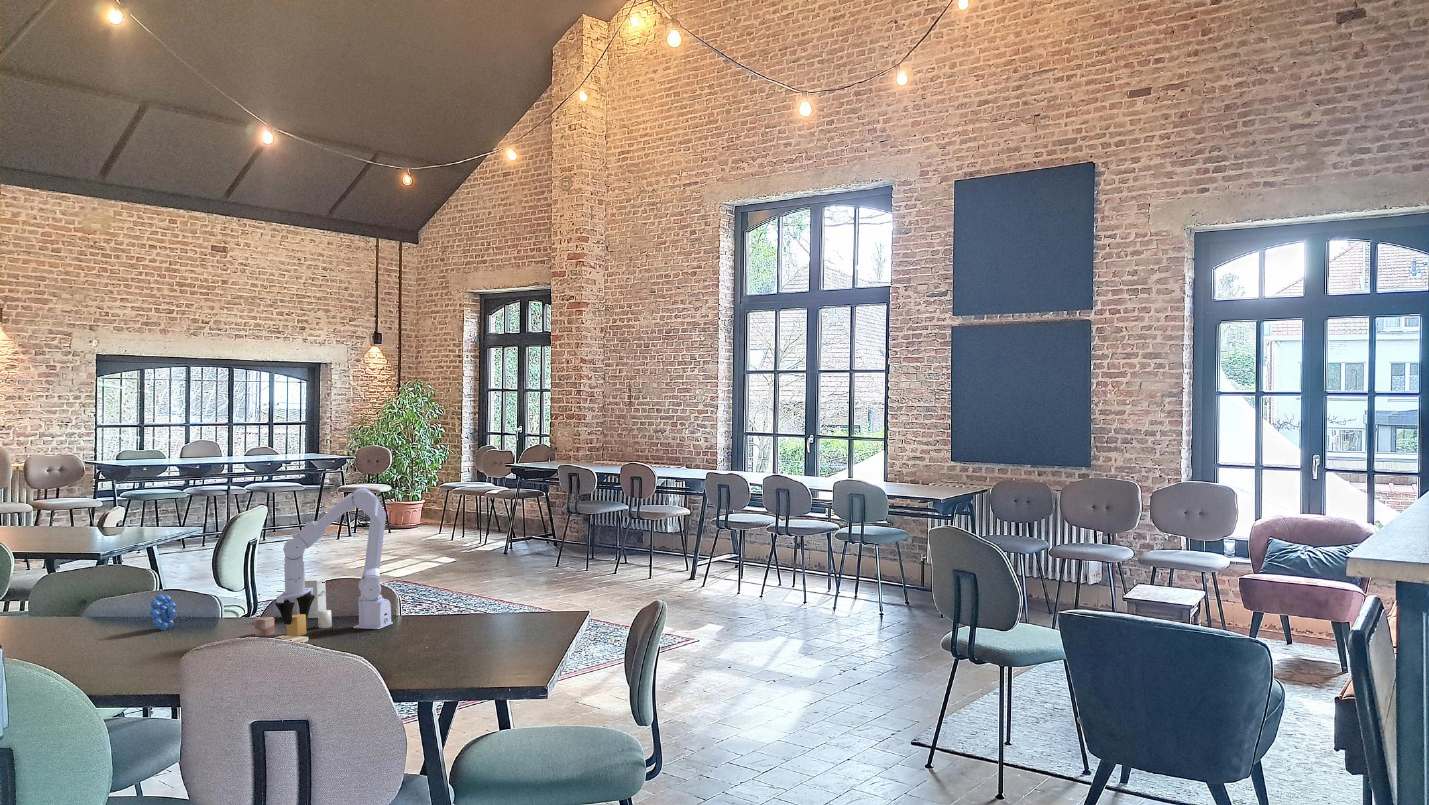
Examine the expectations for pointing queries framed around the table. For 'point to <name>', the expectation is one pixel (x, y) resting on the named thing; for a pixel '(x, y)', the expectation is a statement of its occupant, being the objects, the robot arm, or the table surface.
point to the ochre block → (297, 625)
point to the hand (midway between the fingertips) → (295, 621)
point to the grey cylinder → (324, 619)
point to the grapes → (163, 611)
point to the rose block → (264, 626)
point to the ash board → (294, 638)
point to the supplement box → (316, 595)
